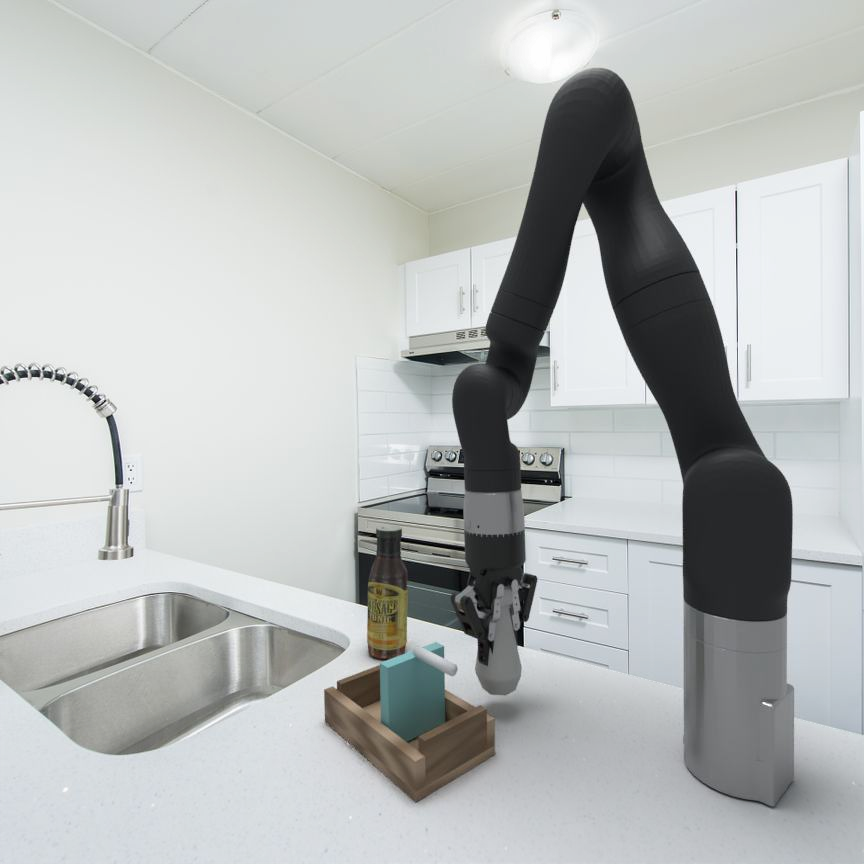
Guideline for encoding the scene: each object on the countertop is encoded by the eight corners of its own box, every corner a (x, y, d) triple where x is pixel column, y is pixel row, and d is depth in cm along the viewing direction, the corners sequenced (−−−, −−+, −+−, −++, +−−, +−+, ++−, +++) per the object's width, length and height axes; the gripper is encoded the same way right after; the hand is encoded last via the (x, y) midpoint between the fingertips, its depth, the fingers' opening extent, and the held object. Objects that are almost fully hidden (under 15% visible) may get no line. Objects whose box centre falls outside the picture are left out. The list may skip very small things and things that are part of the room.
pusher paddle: (481, 746, 57) (480, 652, 57) (424, 779, 52) (422, 677, 52) (437, 716, 63) (435, 631, 63) (381, 744, 58) (379, 652, 58)
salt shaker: (521, 701, 63) (517, 592, 63) (473, 697, 64) (469, 591, 64) (523, 677, 69) (519, 578, 69) (479, 675, 70) (475, 577, 70)
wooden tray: (495, 754, 58) (494, 704, 58) (416, 802, 51) (415, 746, 51) (397, 690, 72) (396, 650, 72) (324, 721, 65) (323, 677, 65)
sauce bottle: (360, 657, 82) (357, 529, 81) (379, 641, 88) (376, 522, 87) (398, 664, 79) (395, 532, 79) (415, 647, 85) (413, 524, 85)
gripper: (474, 539, 59) (480, 694, 59) (553, 521, 68) (557, 655, 68) (431, 530, 65) (436, 671, 65) (509, 514, 74) (513, 638, 74)
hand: (498, 662), depth 66 cm, fingers closed on salt shaker, 3 cm apart
